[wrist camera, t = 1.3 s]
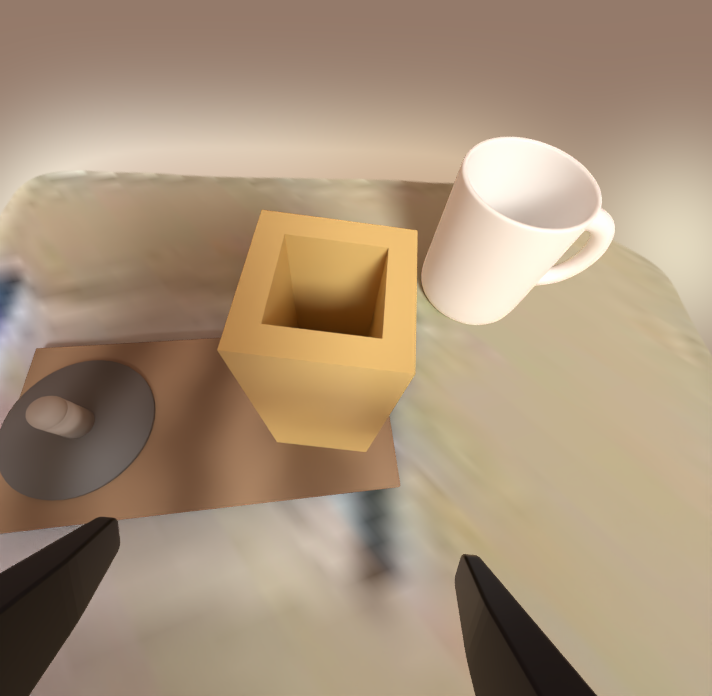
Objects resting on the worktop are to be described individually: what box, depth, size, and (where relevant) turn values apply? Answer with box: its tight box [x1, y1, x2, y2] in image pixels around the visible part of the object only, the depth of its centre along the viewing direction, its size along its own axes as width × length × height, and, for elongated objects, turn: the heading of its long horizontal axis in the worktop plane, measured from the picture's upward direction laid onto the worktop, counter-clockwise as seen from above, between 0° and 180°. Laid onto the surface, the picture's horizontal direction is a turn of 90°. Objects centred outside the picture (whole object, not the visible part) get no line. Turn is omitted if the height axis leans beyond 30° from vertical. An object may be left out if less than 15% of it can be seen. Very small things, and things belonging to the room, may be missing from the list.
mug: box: [421, 137, 615, 325], centre depth 24 cm, size 12×8×10 cm
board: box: [0, 338, 400, 534], centre depth 20 cm, size 23×11×4 cm, turn 96°
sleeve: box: [217, 210, 418, 452], centre depth 17 cm, size 6×6×13 cm
